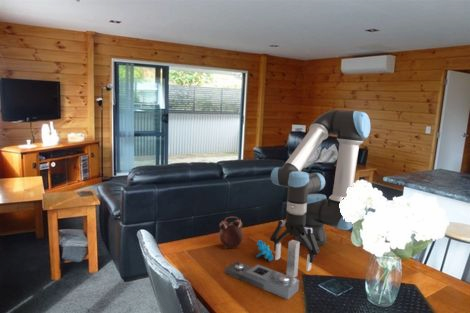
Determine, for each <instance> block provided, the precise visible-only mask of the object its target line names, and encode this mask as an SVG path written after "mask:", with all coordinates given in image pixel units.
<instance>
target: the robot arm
mask: <svg viewBox="0 0 470 313" xmlns="http://www.w3.org/2000/svg"><path fill="white" fill-rule="evenodd" d="M308 130H309V131H308V132H307V133H306V135H304V137H303V138H302V140H301V141H300V143H299V144H298V145H297V147H296V148H295V149H294V151H292V154H290V156H289V157H288V159H287V160H286V161H285V163H284V164H283V165H282V167H280V166H279V167H277V166H276V167H274V168H273V169H272V170H271V173H270V180H271V182H272V184H273V185H277V186H279V187H284V188H287V198H286V214H285V215H286V216H285V220H284V219H281V220H278V221H277V227H276V228H275V230H274V232H273V233H272V236H271V237H270V238H269V240H270V241H271V242H272V243H273V250H274V252H275V256H274V257H275V258H274V260H275V261H277V260H279V259H281V250H282V243H281V241H283V239H284V238H285V237H286V236H287V235H290V236H293V237H294V238H295V239H294V240H296V241H299V242H300V244H302V245H304V247H305V249H306V251H307V252H308V254H307V257H306V268H305V270H306V272H309V271H310V270H312V264H313V263H314V261H315V256H318V255H319V254H320V253H321V251H320V248H319V247H321V246H323V245H326V243H327V234H326V229H325V225H326V226H329V227H332V228H336V229H339V230H342V231H348V230H350V229H352V228H353V227H354V225H352V223H348V222H345V221H344V220H343V217H342V215H341V213H340V209H339V203H340V201H341V200H342V199H343V198H344V197H345V196H346V189H347V188H348V187H351V186H352V184H353V183H354V184H355V177H356V172H357V171H356V170H357V165H358V164H357V163H358V157H359V149H360V145H362V144H363V143H364V139H367V138H368V137H369V136H370V133H371V120H370V117H369V115H368V114H367V113H366V112H365V111H359V110H339V109H333V110H329V111H326V112H324V113H323V114H321V115H319V116H318V117H317V118H316V119H314V120H313V122H312V123H311V124H310V126H309V127H308ZM329 136H336V140H337V142H338V143H339V144H338V145H339V146H338V152H337V153H338V154H337V159H336V167H335V172H334V173H335V175H334V181H333V182H334V183H333V189H332V194H331V195H330V196H329V197H328V199H327V195H325V194H322V193H318V192H320V191H321V190H323V189H325V188H324V187H325V186H326V180H325V177H324V175H322V174H321V173H319V172H311V173H309V172H306V171H302V170H303V169H304V167H305V166H306V164H308V162H309V160H310V159H311V157H312V156H313V154H314V153H315V152H316V151H317V150H318V148H319V146H320V145H321V144H322V142H323V141H324V140H326V139H328V137H329ZM283 227H285V230H284V231H283V232H282V233H281V234H280V232H281V231H282V229H283ZM279 234H280V235H279Z"/></svg>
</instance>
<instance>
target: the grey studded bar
mask: <svg viewBox="0 0 470 313" xmlns="http://www.w3.org/2000/svg"><path fill="white" fill-rule="evenodd" d="M224 274H227V275H229V276H231V277H233V278H235V279H238V280H240V281H243V282H245V283H248V284H249V285H253V286H255V287H256V288H259V289H262V290H264V291H266V292H269V293H270V294H271V293H272V294H274V295H276V296H278V297H280V298H283V299H286V300H290V298H291V297H292V296H294V295H295V294H296V293H298V291H299V288H300V286H299V285H300V279H297V278H296V277H295V278H293V277H290V276H288V275H286V273H285V274H284V273H282V272H279V271H276V270H274V269H271V268H269V267H267V266H263V265H260V264H256V265H255V266H251V265H249V264H246V263H243V262H240V261H238V260H237V261H236V262H233V263H231V264H230V265H229V266H227V267H225V268H224Z"/></svg>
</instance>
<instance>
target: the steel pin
mask: <svg viewBox="0 0 470 313" xmlns="http://www.w3.org/2000/svg"><path fill="white" fill-rule="evenodd" d="M300 244H301V243H300V242H299V241H296V239H291V240H289V241H288V245H287V246H288V247H287V260H286V261H287V262H286V273H285V275H288V276H290V277H293V278H295V279H296V278H297V277H298V275H299V274H298V271H299V260H300V259H299V257H300V247H301V246H300Z"/></svg>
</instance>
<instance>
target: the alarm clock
mask: <svg viewBox="0 0 470 313" xmlns="http://www.w3.org/2000/svg"><path fill="white" fill-rule="evenodd" d="M229 218H230V219H231V218H235V220H234V221H230V222H228V221H227V219H229ZM218 227H219V229H220V230H219V233H218V234H219V236H218V237H219V240H220V242H221V244H222V247H223V248H224V249H227V248H228V249H233V248H237V249H238V248H239V245H240V244H241V243H242V242H243V239H244V232H243V230H242V228H243V222H242V221H241V218H238V217H237V216H234V215H233V216H228V217H225V218H224V220H221V222H220V223H219V226H218Z"/></svg>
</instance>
